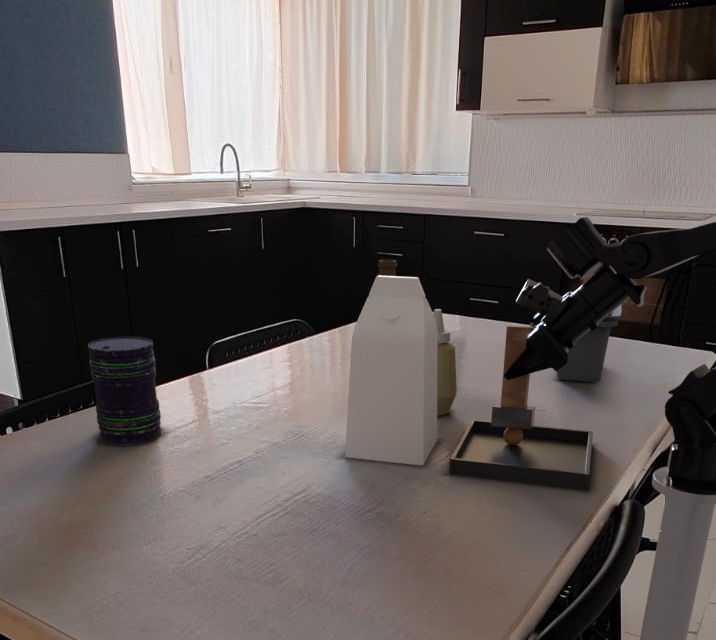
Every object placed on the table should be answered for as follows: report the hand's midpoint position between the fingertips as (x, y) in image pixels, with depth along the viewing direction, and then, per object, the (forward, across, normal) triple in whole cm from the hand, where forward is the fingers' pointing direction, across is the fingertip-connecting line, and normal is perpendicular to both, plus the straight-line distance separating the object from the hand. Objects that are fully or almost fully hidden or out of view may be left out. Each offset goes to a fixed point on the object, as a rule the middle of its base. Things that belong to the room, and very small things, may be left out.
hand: (506, 374), depth 117 cm
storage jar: (+49, +12, -33) cm, 61 cm away
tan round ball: (+6, 0, +8) cm, 10 cm away
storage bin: (+1, -51, +16) cm, 53 cm away
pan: (+5, +5, +11) cm, 13 cm away
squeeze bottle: (+18, -15, -1) cm, 23 cm away
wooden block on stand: (+4, +1, +7) cm, 8 cm away
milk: (+20, +6, -3) cm, 21 cm away
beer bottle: (+26, -30, -10) cm, 41 cm away
